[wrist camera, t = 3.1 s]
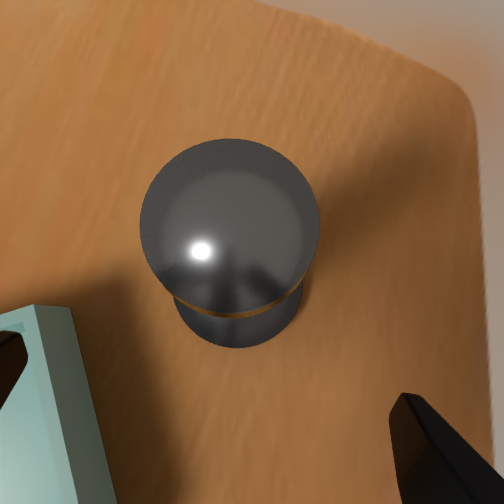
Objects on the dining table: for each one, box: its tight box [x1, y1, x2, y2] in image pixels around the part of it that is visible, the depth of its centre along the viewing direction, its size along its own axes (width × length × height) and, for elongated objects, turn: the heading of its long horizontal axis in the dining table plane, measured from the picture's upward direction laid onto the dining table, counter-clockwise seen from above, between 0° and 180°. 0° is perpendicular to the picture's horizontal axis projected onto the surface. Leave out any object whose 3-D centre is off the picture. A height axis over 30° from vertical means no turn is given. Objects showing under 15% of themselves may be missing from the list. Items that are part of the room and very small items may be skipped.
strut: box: [140, 139, 320, 319], centre depth 14 cm, size 4×4×12 cm
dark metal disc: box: [173, 279, 303, 348], centre depth 20 cm, size 7×7×1 cm
